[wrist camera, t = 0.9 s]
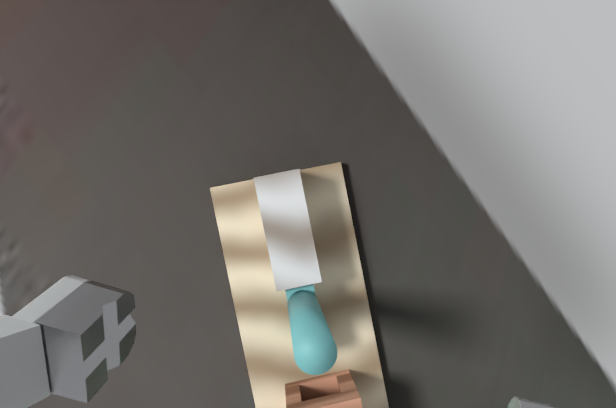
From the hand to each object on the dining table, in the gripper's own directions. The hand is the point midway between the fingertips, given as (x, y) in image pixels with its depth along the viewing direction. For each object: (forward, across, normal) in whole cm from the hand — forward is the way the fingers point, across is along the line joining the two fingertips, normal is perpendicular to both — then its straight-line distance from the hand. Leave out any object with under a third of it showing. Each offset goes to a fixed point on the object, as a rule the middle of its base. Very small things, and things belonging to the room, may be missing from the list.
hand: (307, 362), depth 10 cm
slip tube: (+33, +7, +20) cm, 39 cm away
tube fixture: (+34, +6, +24) cm, 42 cm away
